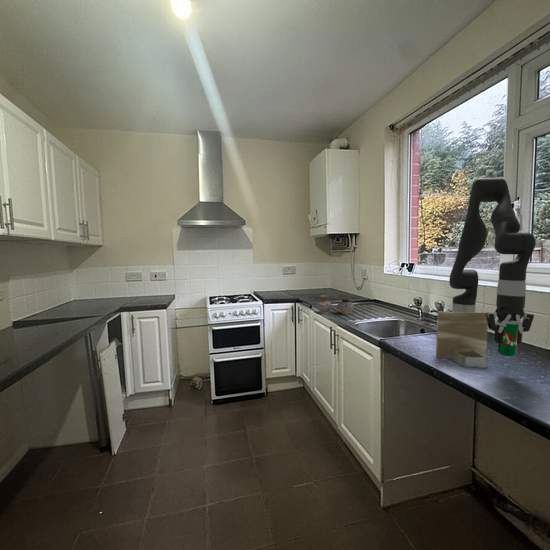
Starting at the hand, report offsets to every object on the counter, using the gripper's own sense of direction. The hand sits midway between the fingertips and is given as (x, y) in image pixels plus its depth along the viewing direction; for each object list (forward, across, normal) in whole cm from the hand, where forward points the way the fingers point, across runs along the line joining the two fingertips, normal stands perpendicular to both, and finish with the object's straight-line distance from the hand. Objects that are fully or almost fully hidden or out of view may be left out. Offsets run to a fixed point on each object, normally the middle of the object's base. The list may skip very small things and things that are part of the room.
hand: (507, 342), depth 103 cm
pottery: (+13, +48, -98) cm, 110 cm away
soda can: (+4, 0, 0) cm, 4 cm away
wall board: (+11, +7, -16) cm, 20 cm away
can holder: (+11, +7, -10) cm, 16 cm away
